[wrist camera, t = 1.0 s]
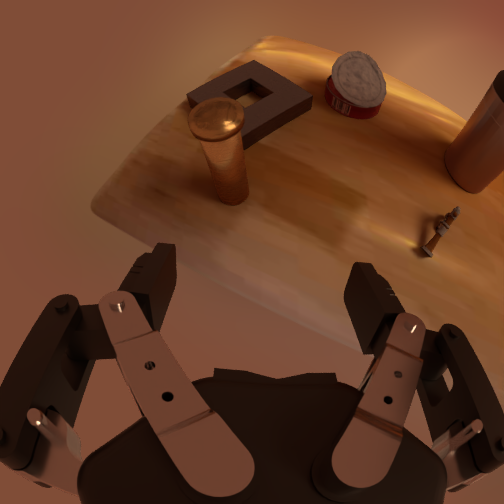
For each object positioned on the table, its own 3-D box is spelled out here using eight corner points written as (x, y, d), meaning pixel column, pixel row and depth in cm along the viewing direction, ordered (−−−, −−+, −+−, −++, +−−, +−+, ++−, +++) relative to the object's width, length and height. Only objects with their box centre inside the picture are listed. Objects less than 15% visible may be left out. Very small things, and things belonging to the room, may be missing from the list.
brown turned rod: (454, 215, 32) (465, 211, 28) (423, 256, 34) (432, 257, 30) (446, 206, 33) (456, 201, 29) (415, 248, 35) (422, 247, 30)
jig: (254, 72, 44) (253, 60, 41) (311, 108, 40) (312, 95, 37) (190, 106, 42) (186, 94, 39) (242, 151, 38) (240, 137, 35)
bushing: (236, 169, 37) (221, 90, 24) (260, 193, 36) (255, 114, 22) (207, 190, 36) (178, 116, 23) (230, 216, 35) (208, 144, 22)
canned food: (366, 111, 46) (403, 86, 37) (353, 138, 42) (396, 112, 33) (323, 70, 43) (356, 40, 34) (303, 92, 39) (340, 56, 30)
